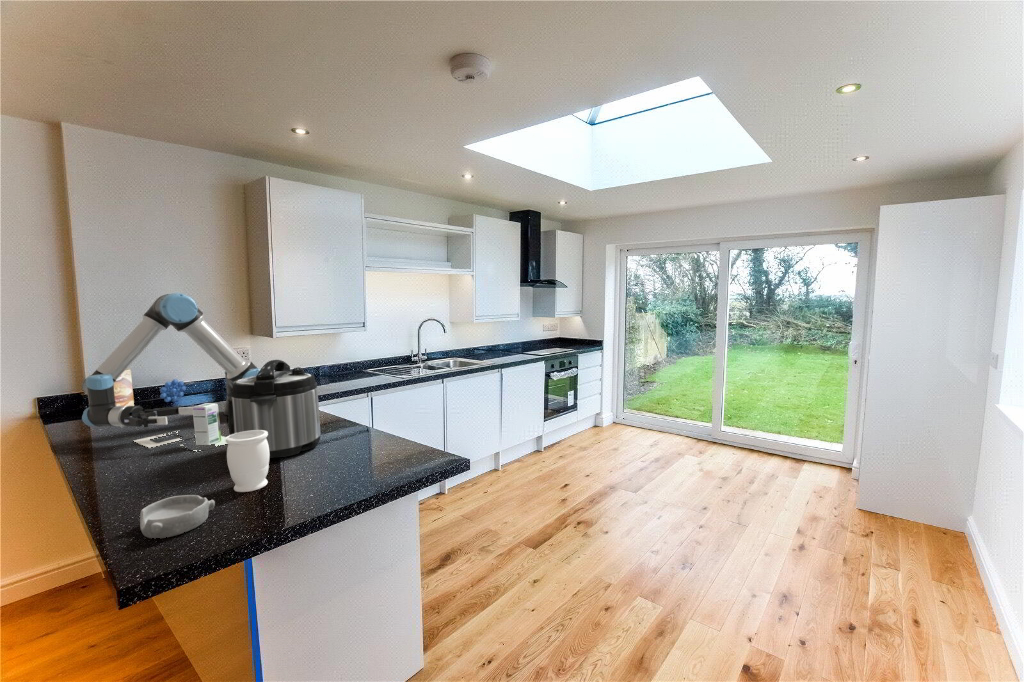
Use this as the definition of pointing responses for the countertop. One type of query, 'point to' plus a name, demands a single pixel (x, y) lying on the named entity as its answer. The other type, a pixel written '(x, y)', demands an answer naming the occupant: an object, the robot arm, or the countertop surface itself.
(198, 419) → the syrup box
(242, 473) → the jar
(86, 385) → the robot arm
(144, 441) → the frame
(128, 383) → the coffeecake box
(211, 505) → the dish
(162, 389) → the grapes
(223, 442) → the mat
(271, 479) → the countertop surface
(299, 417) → the pressure cooker
